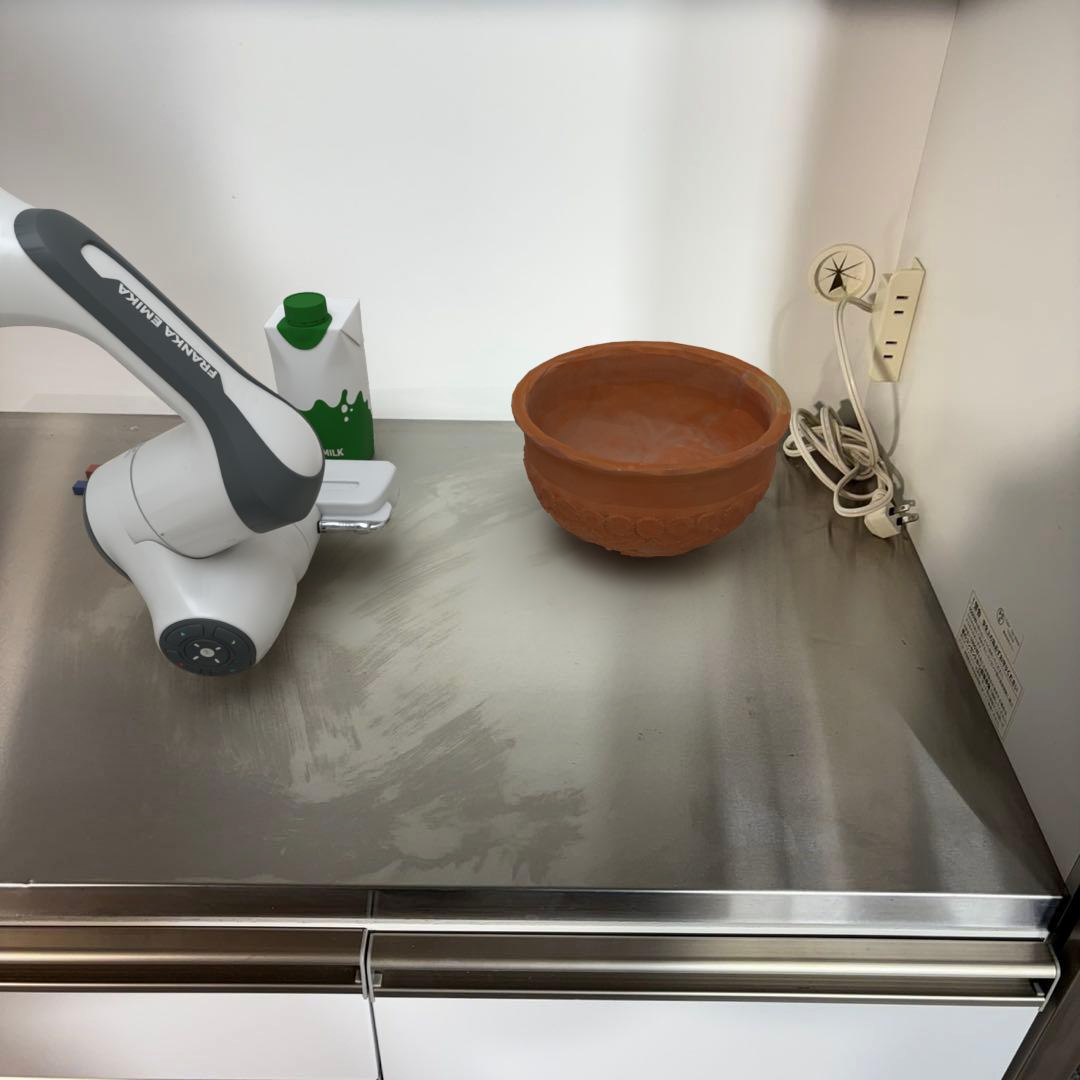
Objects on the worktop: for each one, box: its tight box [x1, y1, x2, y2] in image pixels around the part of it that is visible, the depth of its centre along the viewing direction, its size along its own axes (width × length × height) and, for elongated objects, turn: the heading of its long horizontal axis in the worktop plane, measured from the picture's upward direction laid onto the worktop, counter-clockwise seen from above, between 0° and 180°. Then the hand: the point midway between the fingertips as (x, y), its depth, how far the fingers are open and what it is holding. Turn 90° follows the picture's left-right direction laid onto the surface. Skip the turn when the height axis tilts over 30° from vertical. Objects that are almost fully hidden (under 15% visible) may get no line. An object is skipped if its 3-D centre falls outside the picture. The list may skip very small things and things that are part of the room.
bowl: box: [510, 340, 792, 558], centre depth 91 cm, size 25×25×15 cm
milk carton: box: [263, 291, 375, 461], centre depth 100 cm, size 9×9×20 cm
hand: (307, 448), depth 95 cm, fingers closed
